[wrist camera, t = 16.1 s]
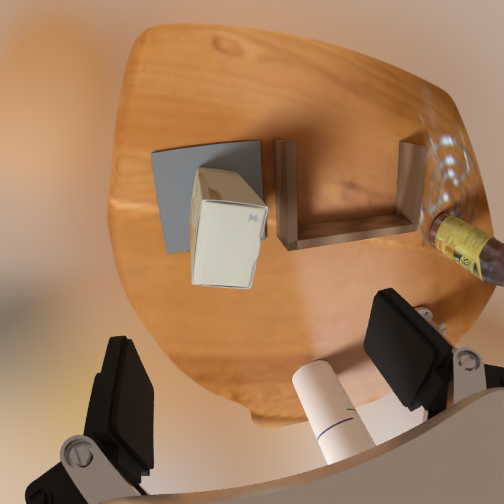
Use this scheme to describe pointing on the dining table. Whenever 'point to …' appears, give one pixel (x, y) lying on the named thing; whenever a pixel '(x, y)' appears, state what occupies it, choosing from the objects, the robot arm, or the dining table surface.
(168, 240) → the grey rubber mat
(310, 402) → the cylindrical container
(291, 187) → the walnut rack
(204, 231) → the skincare box
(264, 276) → the dining table surface
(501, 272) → the sauce bottle
